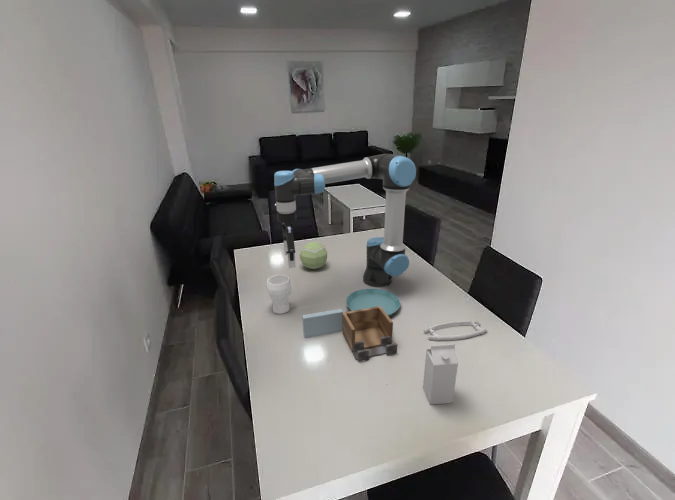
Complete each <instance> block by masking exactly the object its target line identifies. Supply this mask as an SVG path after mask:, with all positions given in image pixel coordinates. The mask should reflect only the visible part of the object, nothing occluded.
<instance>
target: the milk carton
mask: <svg viewBox="0 0 675 500" xmlns="http://www.w3.org/2000/svg"><path fill="white" fill-rule="evenodd" d="M455 347H456V344H455V343H451V344H448V343H447V344H437V345H430V348H428V349H426V350H425V360H424V361H425V362H424V371H423V380H422V382H423V384H422V388H423V391H424V393H425V395H426V398H427V400H428V402H429V405H440V404H441V405H442V404H452V403H454V395H455V388H456V381H457V372H458V365H459V361H458V356H457V353H456V352H457V351H456V349H455Z"/></svg>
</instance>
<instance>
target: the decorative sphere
mask: <svg viewBox="0 0 675 500" xmlns="http://www.w3.org/2000/svg"><path fill="white" fill-rule="evenodd" d="M299 252H300V253H299V260H300V262H301V264H302V265H303V266H304V267H305V268H307V269H311V270H318V269H320V268H321V267H323V266H325V263H326V262H327V260H328V251H327V248H326V247H325V246H324V245H323V243H320V242H318V241H310V242H307V243H306V244H304V245H302V247H301V250H300V251H299Z"/></svg>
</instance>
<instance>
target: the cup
mask: <svg viewBox="0 0 675 500" xmlns="http://www.w3.org/2000/svg"><path fill="white" fill-rule="evenodd" d="M266 291H267V294H268V296H269V297H270V298H271V301H272V312H273V313H275V314H278V315H279V314H280V315H281V314H285V313H287V312H289V311H290V309H291V308H290V302H289V297H290V294H291V291H292V282H291V280H290V277H289V276H288V275H285V274H276V275H272V276H270V277H268V278H267V282H266Z"/></svg>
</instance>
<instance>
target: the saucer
mask: <svg viewBox="0 0 675 500" xmlns="http://www.w3.org/2000/svg"><path fill="white" fill-rule="evenodd" d="M345 303H346V306H347V308H348V309H349V311H355V310H361V309H366V308H372V307H378V306H381V307H382V309H383V310H384V311H385V312H386V314H387V315H388V316H389V317H391V316H393V315H394V314H396V312H397V311H398V310H399V309H400V307H401V300H400V299H399V298H398V296H397V295H395V294H394V293H393V292H390V291H389V290H384V289H381V288H362V289H358V290H355V291H354V292H351V293H350V294H349V295H348V296H347V298H346V299H345Z"/></svg>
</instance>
